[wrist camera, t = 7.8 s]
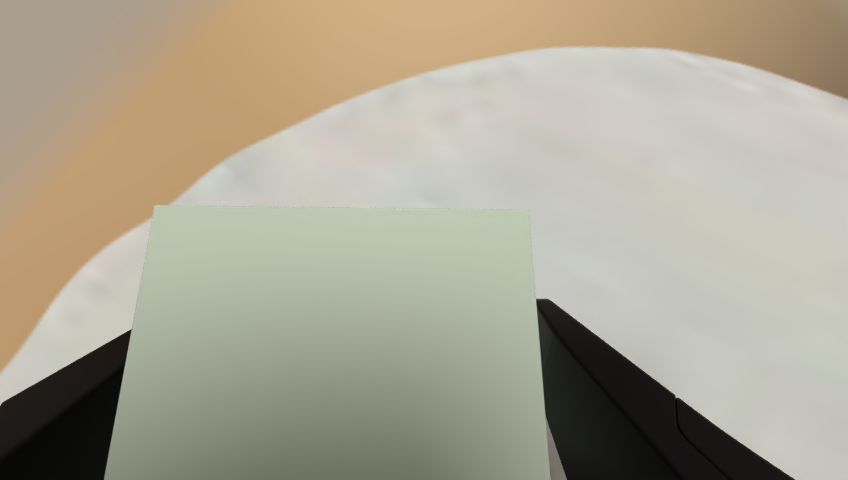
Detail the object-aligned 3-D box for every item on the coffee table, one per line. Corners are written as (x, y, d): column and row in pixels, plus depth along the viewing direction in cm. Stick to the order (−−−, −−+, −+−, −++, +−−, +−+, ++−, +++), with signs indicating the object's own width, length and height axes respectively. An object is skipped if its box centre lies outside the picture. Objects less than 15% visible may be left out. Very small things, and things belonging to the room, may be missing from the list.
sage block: (445, 419, 16) (565, 661, 4) (322, 422, 15) (65, 687, 4) (443, 298, 17) (528, 209, 5) (329, 298, 17) (154, 205, 5)
